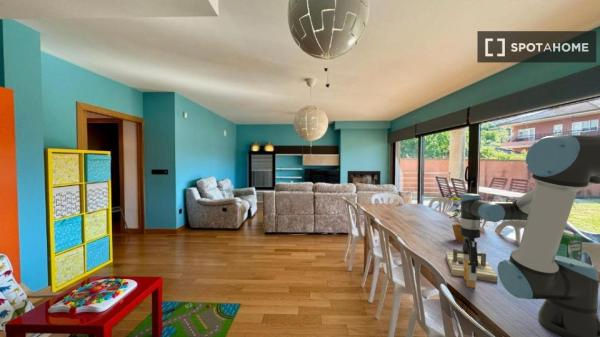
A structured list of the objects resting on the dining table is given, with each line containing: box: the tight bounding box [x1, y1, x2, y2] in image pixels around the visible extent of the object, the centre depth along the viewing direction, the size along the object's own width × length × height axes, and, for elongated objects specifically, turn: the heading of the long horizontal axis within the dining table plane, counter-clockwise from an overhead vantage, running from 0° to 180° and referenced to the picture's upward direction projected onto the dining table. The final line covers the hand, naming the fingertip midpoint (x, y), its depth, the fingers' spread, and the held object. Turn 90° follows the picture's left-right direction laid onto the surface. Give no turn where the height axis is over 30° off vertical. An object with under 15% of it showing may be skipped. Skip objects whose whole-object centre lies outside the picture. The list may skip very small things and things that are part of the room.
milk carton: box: [556, 229, 583, 262], centre depth 114 cm, size 9×9×25 cm
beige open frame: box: [445, 252, 498, 283], centre depth 131 cm, size 25×18×3 cm
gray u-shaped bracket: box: [452, 248, 487, 266], centre depth 131 cm, size 2×14×9 cm, turn 66°
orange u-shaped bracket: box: [463, 260, 477, 289], centre depth 115 cm, size 9×3×9 cm, turn 156°
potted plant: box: [448, 196, 464, 243], centre depth 176 cm, size 18×19×30 cm
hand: (469, 273), depth 115 cm, fingers open, 13 cm apart
